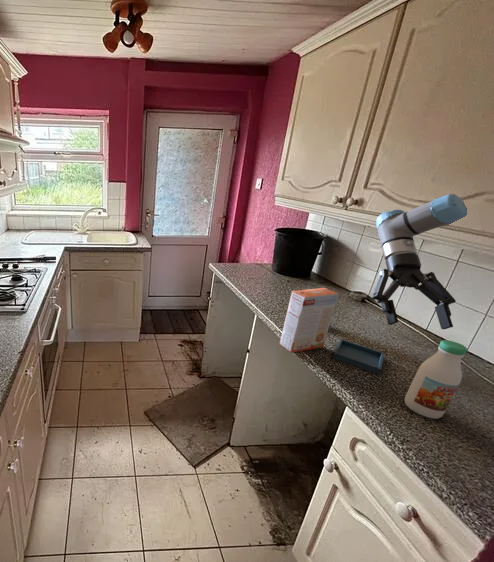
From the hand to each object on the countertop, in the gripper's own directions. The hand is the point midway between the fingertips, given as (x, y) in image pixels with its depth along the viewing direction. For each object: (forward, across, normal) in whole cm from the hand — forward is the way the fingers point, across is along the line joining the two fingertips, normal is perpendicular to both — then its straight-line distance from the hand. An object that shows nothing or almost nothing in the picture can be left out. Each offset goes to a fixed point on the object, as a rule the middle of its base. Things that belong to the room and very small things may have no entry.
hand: (420, 325), depth 85 cm
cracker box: (+2, -20, +25) cm, 33 cm away
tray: (+5, -4, +22) cm, 23 cm away
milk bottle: (+21, 0, +6) cm, 22 cm away
